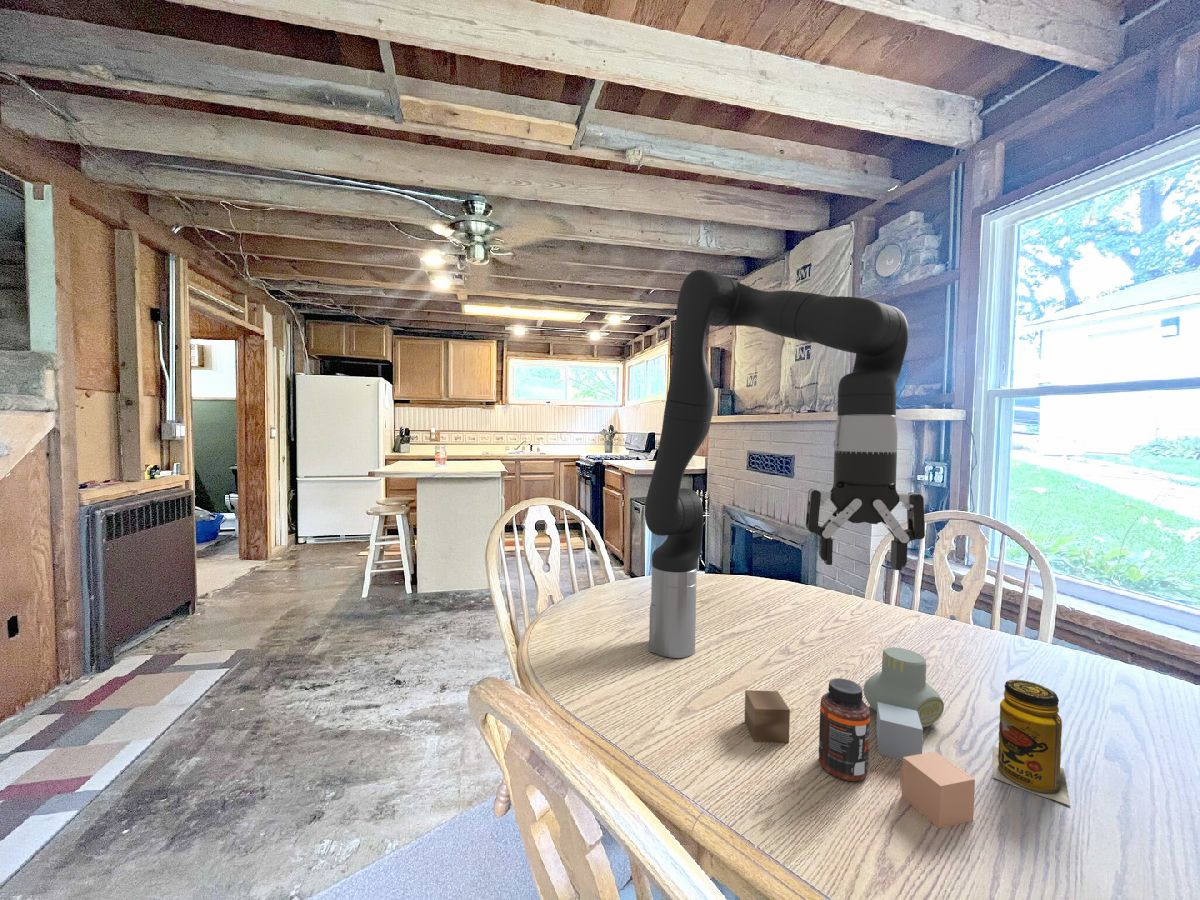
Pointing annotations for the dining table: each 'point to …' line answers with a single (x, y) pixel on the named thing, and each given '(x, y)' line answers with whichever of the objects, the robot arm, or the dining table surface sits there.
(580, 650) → the dining table surface
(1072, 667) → the dining table surface
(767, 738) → the walnut block
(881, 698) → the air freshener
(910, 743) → the slate block
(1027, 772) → the condiment
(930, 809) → the terracotta block
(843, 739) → the supplement bottle
